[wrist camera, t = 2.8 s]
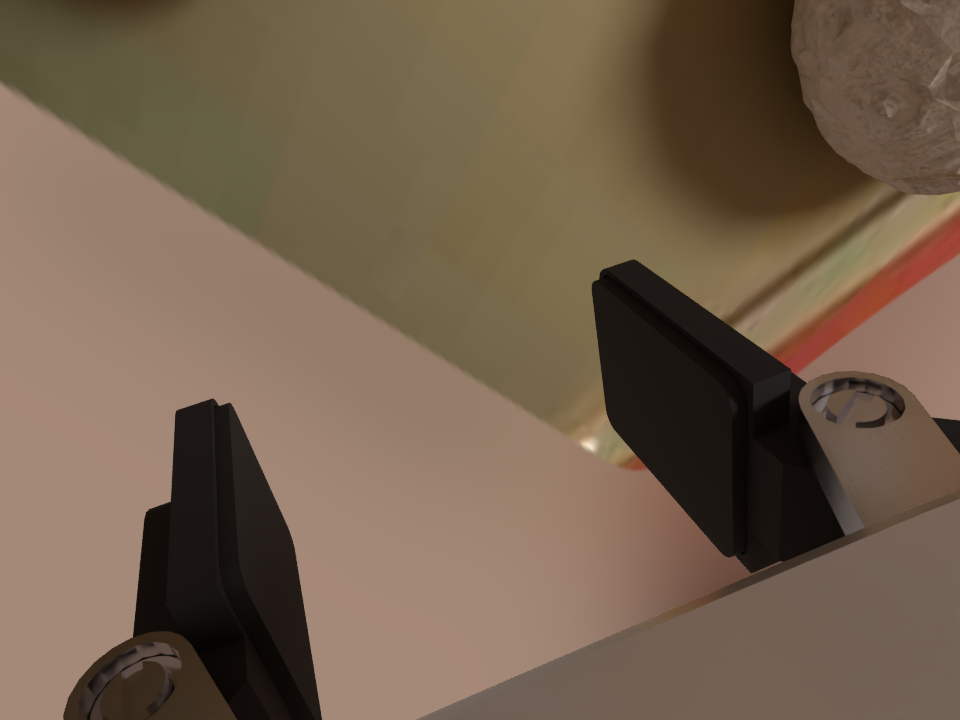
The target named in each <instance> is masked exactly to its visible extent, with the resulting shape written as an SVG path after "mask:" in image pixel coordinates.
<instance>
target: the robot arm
mask: <svg viewBox="0 0 960 720" xmlns="http://www.w3.org/2000/svg"><path fill="white" fill-rule="evenodd" d="M592 296H593V305H594V313H595V321H596V330H597V338H598V346H599V355H600V363H601V372H602V380H603V388H604V397H605V405H606V412H607V415H608V418H609V421H610V423H611V425H612V427H613V428H614V430H615V431H616V432H617V433H618V435H619V436H620V437H621V438H622V439H623V440H624V441H625V443H626V444H627V445H628V446H629V447H630V448H631V450H632V451H633V452H634V453H635V454H636V455H637V456H638V458H639V459H640V460H641V461H642V462H643V463H644V464H645V466H646V467H647V468H648V469H649V470H650V471H651V473H652V474H653V475H654V476H655V477H656V478H657V479H658V481H659V482H660V483H661V484H662V485H663V486H664V487H665V489H666V490H667V491H668V492H669V493H670V494H671V496H672V497H673V498H674V499H675V500H676V501H677V502H678V504H679V505H680V506H681V507H682V508H683V509H684V511H685V512H686V513H687V514H688V515H689V516H690V517H691V519H692V520H693V521H694V522H695V523H696V524H697V525H698V527H699V528H700V529H701V530H702V531H703V532H704V534H705V535H706V536H707V537H708V538H709V539H710V540H711V542H712V543H713V544H714V545H715V546H716V547H717V549H718V550H719V551H720V552H721V553H722V554H723V555H724V556H726V557H732V556H734V555H735V556H736V557H737V558H738V559H739V560H740V561H741V563H742V564H743V565H744V566H745V567H746V568H747V569H748V570H749V572H750V573H753V572H756V571H758V570H760V569H763V568H765V567H767V566H770V565H772V564H774V563H777V562H779V561H782V563H780V564H778V565H775V566H773V567H771V568H768V569H766V570H764V571H761V572H759V573H756V574H754V575H752V576H749V577H747V578H745V579H742V580H740V581H738V582H735V583H733V584H730V585H728V586H726V587H723V588H721V589H719V590H716V591H714V592H711V593H709V594H707V595H704V596H702V597H700V598H698V599H695V600H693V601H690V602H688V603H686V604H683V605H681V606H679V607H676V608H674V609H672V610H669V611H667V612H665V613H662V614H660V615H658V616H655V617H653V618H651V619H648V620H646V621H644V622H641V623H639V624H637V625H634V626H632V627H630V628H627V629H625V630H623V631H620V632H618V633H616V634H613V635H611V636H609V637H606V638H604V639H602V640H599V641H597V642H595V643H592V644H590V645H588V646H585V647H583V648H581V649H578V650H576V651H574V652H572V653H569V654H567V655H564V656H562V657H560V658H557V659H555V660H553V661H550V662H548V663H546V664H543V665H541V666H539V667H537V668H534V669H532V670H529V671H527V672H525V673H523V674H520V675H518V676H515V677H513V678H511V679H509V680H506V681H504V682H502V683H499V684H497V685H495V686H492V687H490V688H488V689H486V690H484V691H481V692H479V693H476V694H474V695H472V696H469V697H467V698H465V699H463V700H460V701H458V702H456V703H453V704H451V705H449V706H447V707H444V708H442V709H440V710H437V711H435V712H433V713H430V714H428V715H426V716H424V717H421V718H419V719H417V720H960V421H958V420H950V419H941V418H932V417H931V416H930V415H929V414H928V413H927V411H926V410H925V409H924V407H923V406H922V405H921V403H920V402H919V401H918V399H917V398H916V397H915V396H914V395H913V394H912V393H911V392H910V391H909V390H908V389H907V388H906V387H905V386H904V385H902V384H900V383H898V382H896V381H894V380H892V379H890V378H887V377H884V376H880V375H876V374H873V373H866V372H857V371H847V372H846V371H844V372H834V373H829V374H825V375H821V376H819V377H817V378H815V379H813V380H811V381H809V382H808V383H806V382H805V381H803V380H802V379H800V378H799V377H798V376H796V375H795V374H793V373H792V372H791V369H790V368H788V367H787V366H785V365H784V364H783V363H781V362H780V361H778V360H777V359H775V358H774V357H773V356H771V355H770V354H768V353H767V352H766V351H764V350H763V349H761V348H760V347H758V346H757V345H756V344H754V343H753V342H751V341H750V340H749V339H747V338H746V337H744V336H743V335H741V334H740V333H739V332H737V331H736V330H734V329H733V328H732V327H730V326H729V325H727V324H726V323H724V322H723V321H722V320H720V319H719V318H717V317H716V316H715V315H713V314H712V313H710V312H709V311H707V310H706V309H705V308H703V307H702V306H700V305H699V304H698V303H696V302H695V301H693V300H692V299H690V298H689V297H688V296H686V295H685V294H683V293H682V292H681V291H679V290H678V289H676V288H675V287H673V286H672V285H671V284H669V283H668V282H666V281H665V280H664V279H662V278H661V277H659V276H658V275H656V274H655V273H654V272H652V271H651V270H649V269H648V268H647V267H645V266H644V265H642V264H641V263H639V262H638V261H636V260H630V261H627V262H624V263H621V264H618V265H615V266H612V267H609V268H606V269H603V270H602V271H601V272H600V277H599V280H597V281H594V282H593V284H592ZM171 492H172V493H171V502H169V503H166V504H163V505H160V506H157V507H155V508H152V509H149V510H148V511H147V512H146V515H145V519H144V530H143V539H142V550H141V560H140V570H139V581H138V591H137V602H136V612H135V622H134V633H133V638H131V639H129V640H127V641H125V642H123V643H121V644H119V645H118V646H116V647H114V648H112V649H111V650H110V651H108V652H107V653H106V654H105V655H103V656H102V657H101V658H99V659H98V660H97V661H96V662H94V663H93V665H92V666H91V667H90V668H89V669H88V670H87V671H86V672H85V674H84V675H83V676H82V677H81V678H80V679H79V681H78V682H77V684H76V686H75V687H74V689H73V691H72V692H71V694H70V696H69V698H68V701H67V705H66V708H65V711H64V715H63V718H64V720H322V717H321V711H320V704H319V699H318V692H317V686H316V679H315V673H314V667H313V660H312V654H311V649H310V642H309V635H308V629H307V623H306V617H305V610H304V604H303V598H302V592H301V585H300V579H299V573H298V567H297V561H296V554H295V548H294V544H293V541H292V537H291V535H290V532H289V529H288V526H287V524H286V522H285V520H284V518H283V515H282V513H281V511H280V509H279V507H278V505H277V502H276V500H275V498H274V496H273V493H272V491H271V489H270V487H269V485H268V482H267V480H266V478H265V476H264V473H263V471H262V469H261V467H260V465H259V462H258V460H257V458H256V456H255V454H254V451H253V449H252V447H251V445H250V442H249V440H248V438H247V436H246V434H245V431H244V429H243V427H242V425H241V423H240V420H239V418H238V416H237V414H236V412H235V410H234V408H233V406H232V404H231V403H227V404H224V405H221V406H219V405H218V404H217V402H216V401H215V400H214V399H210V400H207V401H204V402H201V403H198V404H195V405H192V406H189V407H186V408H183V409H179V410H177V411H176V414H175V432H174V452H173V471H172V491H171Z"/></svg>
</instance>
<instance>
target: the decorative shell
mask: <svg viewBox="0 0 960 720" xmlns="http://www.w3.org/2000/svg"><path fill="white" fill-rule="evenodd" d="M791 29H792V33H791V53H792V57H793V60H794V62H795V64H796V65H797V67H798V72H799V77H800V83H801V88H802V96H803V101H804V103H805V105H806V106H807V107H808V108H809V110H810V111H811V112H812V113H813V115H814V118H815V121H816V124H817V127H818V129H819V131H820V133H821V134H822V136H823V138H824V139H825V140H826V141H827V143H828V144H829V145H830V146H831V147H832V148H833V150H834V151H835V152H836V153H837V154H838V155H840V156H842V157H843V158H845V160H846V161H847V162H849V163H851V164H854V165H856V166H857V167H858V168H859V169H860V170H861V171H862V172H863V173H865V174H868V175H870V176H872V177H874V178H876V179H878V180H880V181H882V182H886V183H888V184H889V185H891V186H892V187H894V188H895V189H897V190H899V191H902V192H906V193H910V194H918V195H941V194H947V193H952V192H958V191H960V0H795V2H794V11H793V18H792V23H791Z"/></svg>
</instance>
